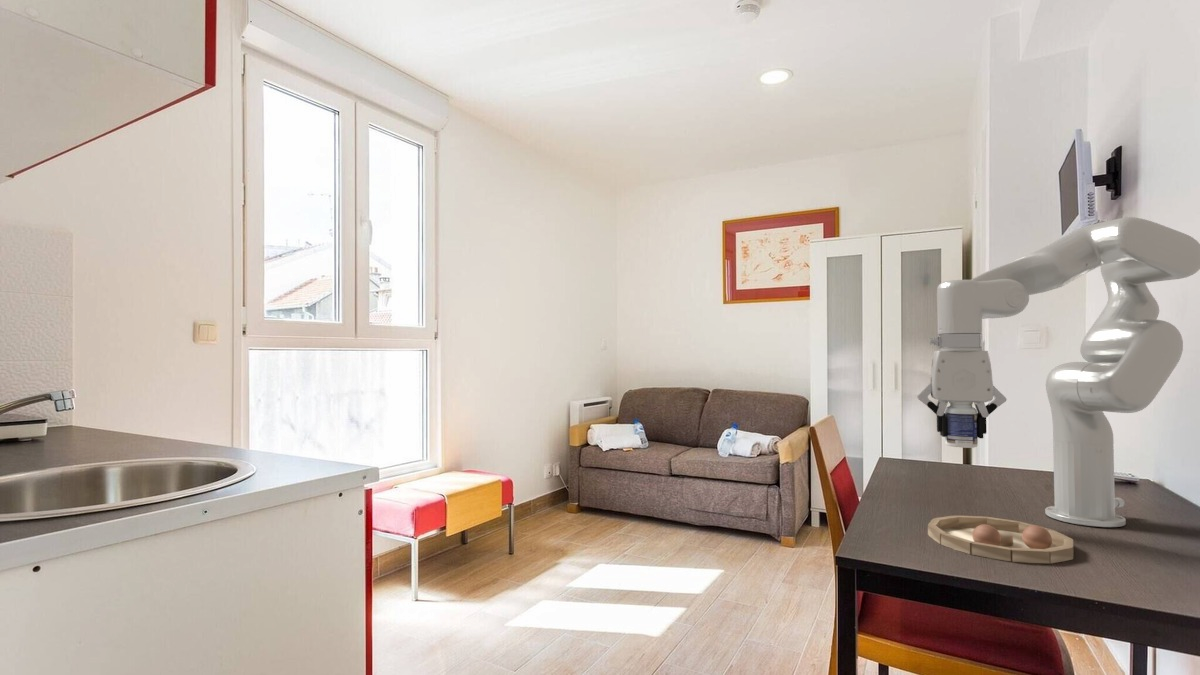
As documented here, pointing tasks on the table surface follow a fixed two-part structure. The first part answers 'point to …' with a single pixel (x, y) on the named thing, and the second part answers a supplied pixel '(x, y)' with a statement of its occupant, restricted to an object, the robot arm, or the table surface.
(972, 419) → the pill bottle
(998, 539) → the brown egg
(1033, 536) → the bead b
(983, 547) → the groove tray
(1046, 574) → the table surface
